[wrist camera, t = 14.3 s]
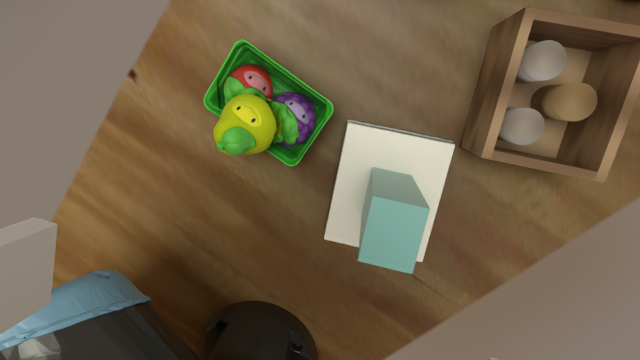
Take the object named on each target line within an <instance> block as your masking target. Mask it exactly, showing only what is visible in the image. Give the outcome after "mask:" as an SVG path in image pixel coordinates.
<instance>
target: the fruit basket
mask: <svg viewBox="0 0 640 360" xmlns="http://www.w3.org/2000/svg"><path fill="white" fill-rule="evenodd" d="M203 101H204V105H205V107H206V108H207V109H208V110H210V111H211V112H213V113H214V114H216V115H217V116H218V117H220V120H219V121H218V122H217V124H216V126H215V128H214V131H213V136H214V140H215V143H216V147H217V149H218V150H221V151H222V152H224V153H225V154H227V155H230V156H240V155H243V154H256V153H260V152H262V151H264V150H266V151H267V152H269V153H270V154H272V155H273V156H275V157H276V158H277V159H279V160H280V161H281V162H283V163H284V164H286V165H288V166H295V165H297V164H298V163H299V162H300V160H301V159H302V157H303V156H304V154H305V153H306V151H307V150H308V148H309V147H310V146H311V144H312V143H313V141H314V140H315V138H316V137H317V135H318V134H319V132H320V131H321V129H322V128H323V127H324V125H325V124H326V122H327V121H328V119H329V118H330V117H331V115H332V113H333V110H334V108H333V104H332V103H331V101H329V100H328V99H327V98H325V97H324V96H322V95H321V94H319V93H318V92H317V91H315V90H314V89H312V88H311V87H310V86H308V85H307V84H305V83H304V82H303V81H301V80H300V79H299V78H297V77H296V76H294V75H293V74H292V73H290V72H289V71H288V70H286V69H285V68H284V67H282V66H281V65H280V64H278V63H277V62H275V61H274V60H272V59H271V58H270V57H268V56H267V55H266V54H264V53H263V52H261V51H260V50H259V49H257V48H256V47H255V46H253V45H252V44H251V43H249V42H248V41H246V40H239V41H237V42H236V43H235V44H234V46H233V47H232V49H231V51H230V53H229V55H228V56H227V58H226V60H225V62H224V63H223V65H222V67H221V69H220V70H219V72H218V74H217V76H216V77H215V79H214V81H213V82H212V84H211V86H210V87H209V89H208V91H207V92H206V94H205V96H204V99H203Z"/></svg>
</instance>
